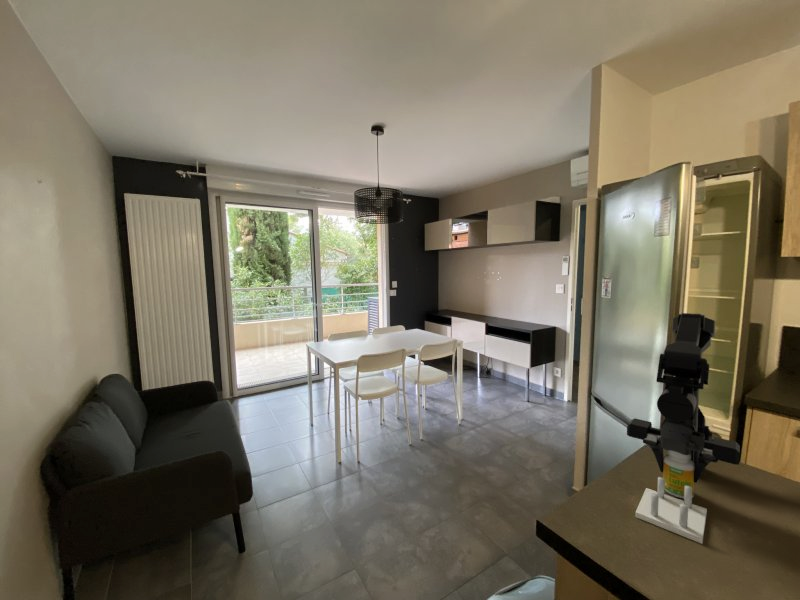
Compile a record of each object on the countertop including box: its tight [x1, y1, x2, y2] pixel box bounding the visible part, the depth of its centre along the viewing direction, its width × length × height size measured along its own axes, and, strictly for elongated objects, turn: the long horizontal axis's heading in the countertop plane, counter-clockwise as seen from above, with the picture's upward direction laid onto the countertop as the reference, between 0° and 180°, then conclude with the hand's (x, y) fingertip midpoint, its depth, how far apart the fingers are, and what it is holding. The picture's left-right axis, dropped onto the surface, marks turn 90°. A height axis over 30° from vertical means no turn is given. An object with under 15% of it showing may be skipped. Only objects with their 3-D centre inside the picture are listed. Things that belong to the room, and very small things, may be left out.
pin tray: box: [634, 476, 708, 545], centre depth 68 cm, size 11×10×5 cm
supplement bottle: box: [662, 450, 695, 500], centre depth 75 cm, size 5×5×10 cm
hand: (678, 476), depth 75 cm, fingers closed on supplement bottle, 5 cm apart
